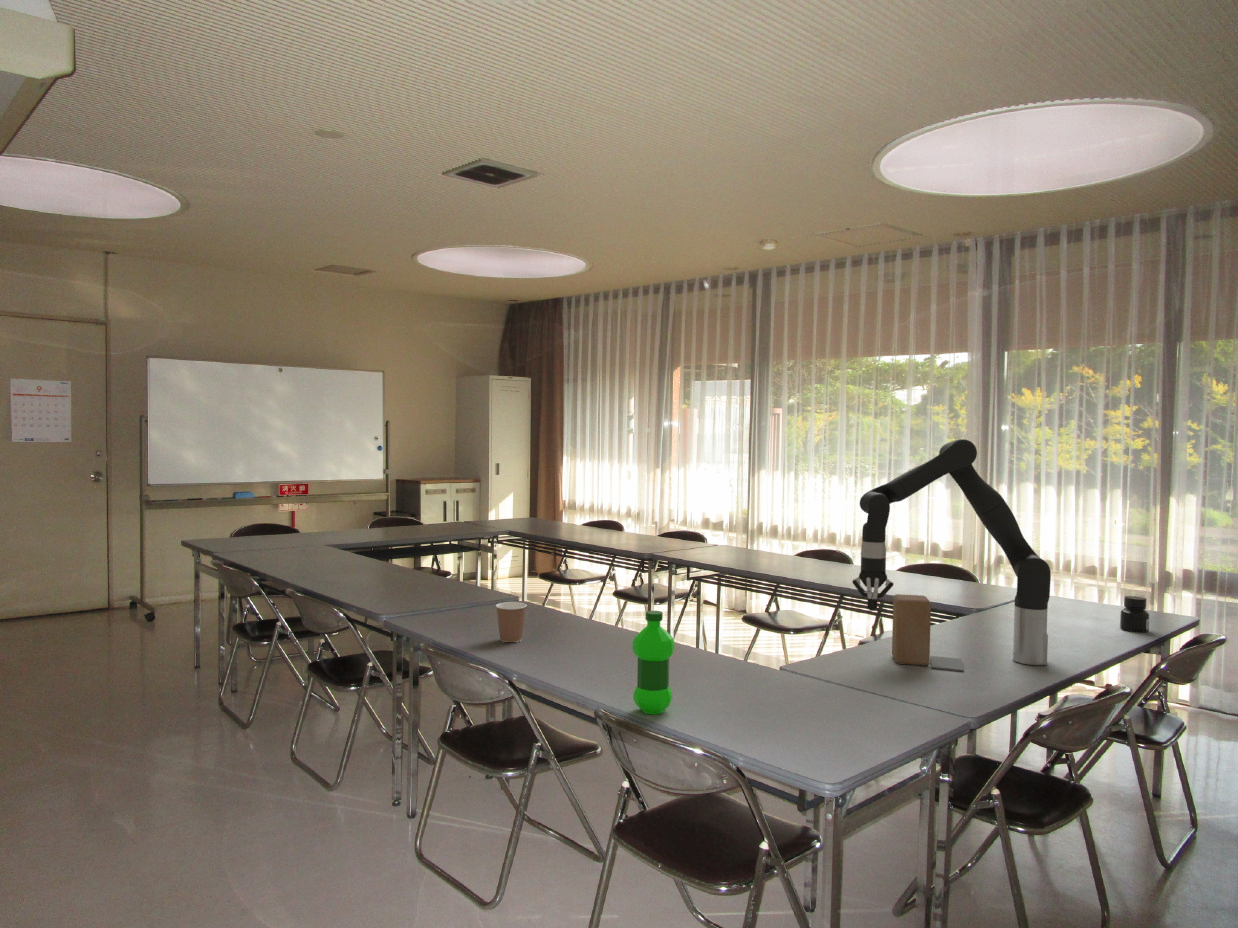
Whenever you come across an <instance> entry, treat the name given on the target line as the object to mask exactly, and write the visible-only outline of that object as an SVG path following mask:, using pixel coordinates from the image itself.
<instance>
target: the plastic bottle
mask: <svg viewBox="0 0 1238 928" xmlns="http://www.w3.org/2000/svg"><path fill="white" fill-rule="evenodd" d="M663 616H664V615H663V611H660V610H647V611H645V620H646V622H647V625H646V627H644V628H643V629H642V630H641V631H640V632H638V633H637V635H635V637H634V639H633V641H632V650H633V654H634V655H635V656H636V657H637V677H636V678H637V679H636V680H637V681H636V682H637V686H636V687H635V689H634V692H633V696H632V697H633V698H632V699H633V701H634V703H635V705H636V706H637V707H638V708H639V709H640V710H641V711H642V712H643V713H644V714H648V715H658V714H662V713H663V712H664V711H666V709H667V708H668V707H669V706H670V704H671V702H672V700H673V691H672V689H671V687H670V681H669V680H670V658H671V656H672V655H673V654H674V651H675V640H674V637H673V636H672V635H671V634H670V633H669V632H668V631H667V630H665V628H664V627H662V626H661V621H663Z"/></svg>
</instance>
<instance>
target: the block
mask: <svg viewBox="0 0 1238 928" xmlns="http://www.w3.org/2000/svg"><path fill="white" fill-rule="evenodd" d="M892 600H893V601H892V637H891V638H892V639H891V640H892V641H891V642H892V643H891V655H892V657H893V660H894V661H895V663H896V664H898V665H909V664H911V665H913V666H925V665H926V666H929V664H930V662H931V658H930V656H931V655H930V652H931V622H932V621H931V618H932V617H931V616H932V604H931V601H930V599H928V597H927V596H925V595H919V594H918V595H917V594H899V593H898V594H897V593H896V594H894V595H893V599H892Z"/></svg>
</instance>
